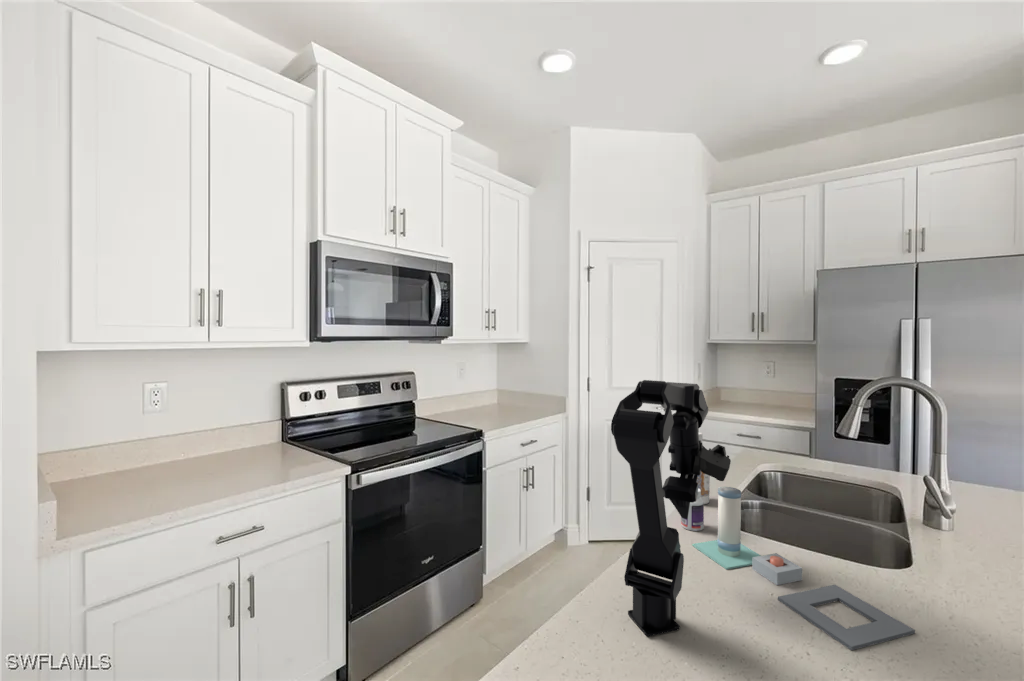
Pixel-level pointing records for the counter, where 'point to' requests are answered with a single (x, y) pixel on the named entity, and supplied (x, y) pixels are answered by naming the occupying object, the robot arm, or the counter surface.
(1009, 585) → the counter surface
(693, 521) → the pill bottle
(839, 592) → the port plate
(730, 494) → the cartridge
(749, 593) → the counter surface
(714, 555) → the rubber mat
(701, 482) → the body lotion
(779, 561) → the release button
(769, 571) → the block
